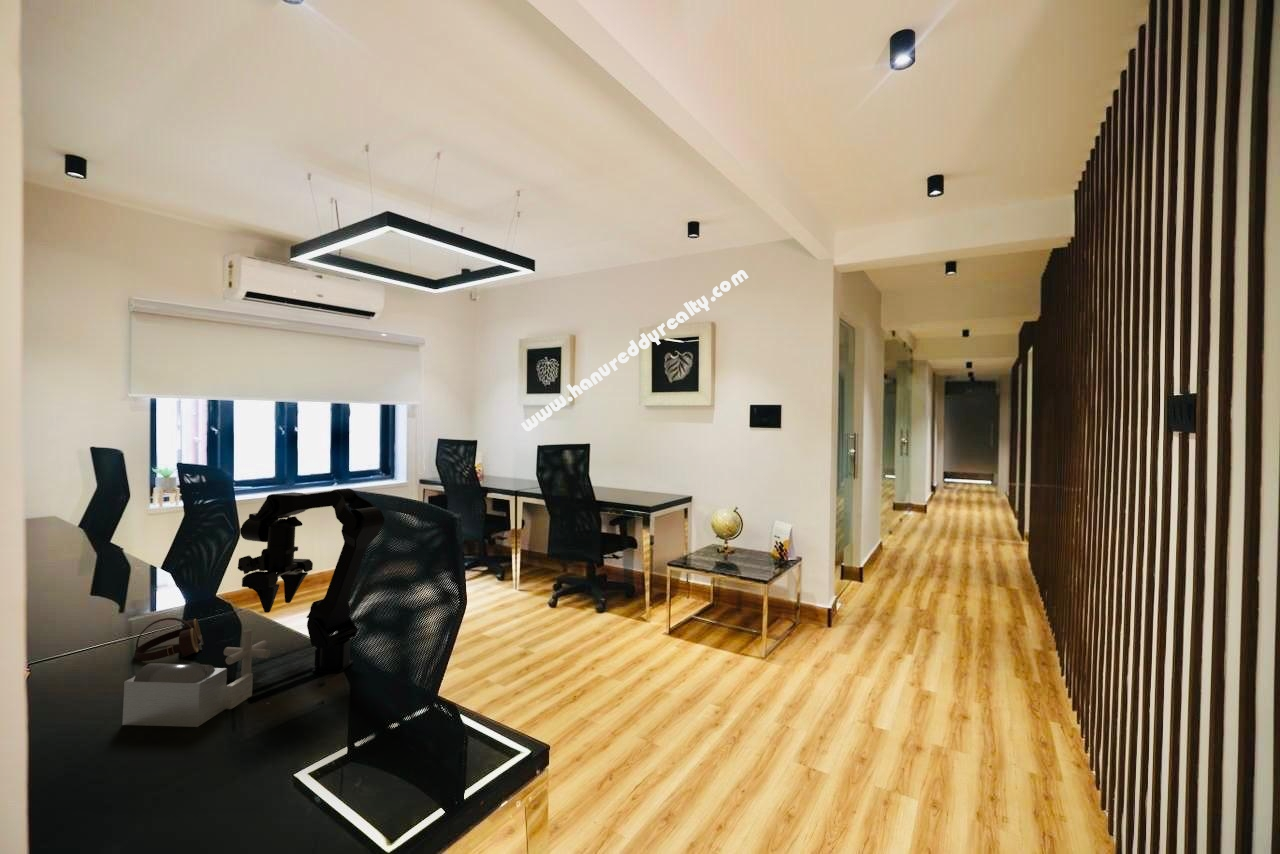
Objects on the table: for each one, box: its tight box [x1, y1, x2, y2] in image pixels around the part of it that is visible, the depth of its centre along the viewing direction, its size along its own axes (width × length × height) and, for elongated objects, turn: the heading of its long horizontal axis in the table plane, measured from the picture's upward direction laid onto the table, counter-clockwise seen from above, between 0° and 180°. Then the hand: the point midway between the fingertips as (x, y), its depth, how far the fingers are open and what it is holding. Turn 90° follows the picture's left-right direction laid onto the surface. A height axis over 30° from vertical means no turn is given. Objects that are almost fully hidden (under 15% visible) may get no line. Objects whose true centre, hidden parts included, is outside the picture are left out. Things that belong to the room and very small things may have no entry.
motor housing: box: [121, 662, 254, 728], centre depth 111 cm, size 17×13×10 cm
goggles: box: [133, 617, 204, 662], centre depth 139 cm, size 15×13×10 cm
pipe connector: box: [223, 628, 271, 677], centre depth 128 cm, size 10×10×10 cm
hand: (277, 607), depth 138 cm, fingers open, 8 cm apart
